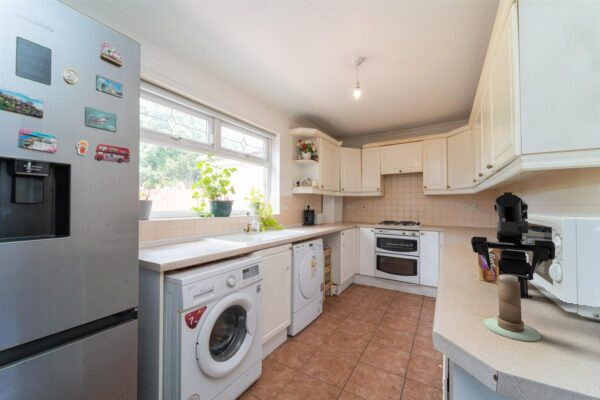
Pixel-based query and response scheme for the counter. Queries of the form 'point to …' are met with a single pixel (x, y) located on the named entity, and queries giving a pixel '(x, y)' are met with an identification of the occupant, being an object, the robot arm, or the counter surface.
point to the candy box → (493, 272)
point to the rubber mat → (527, 335)
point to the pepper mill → (510, 304)
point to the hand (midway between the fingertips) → (509, 270)
